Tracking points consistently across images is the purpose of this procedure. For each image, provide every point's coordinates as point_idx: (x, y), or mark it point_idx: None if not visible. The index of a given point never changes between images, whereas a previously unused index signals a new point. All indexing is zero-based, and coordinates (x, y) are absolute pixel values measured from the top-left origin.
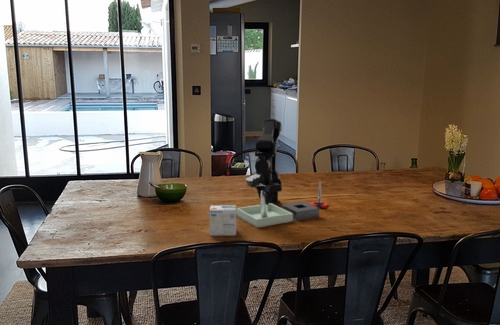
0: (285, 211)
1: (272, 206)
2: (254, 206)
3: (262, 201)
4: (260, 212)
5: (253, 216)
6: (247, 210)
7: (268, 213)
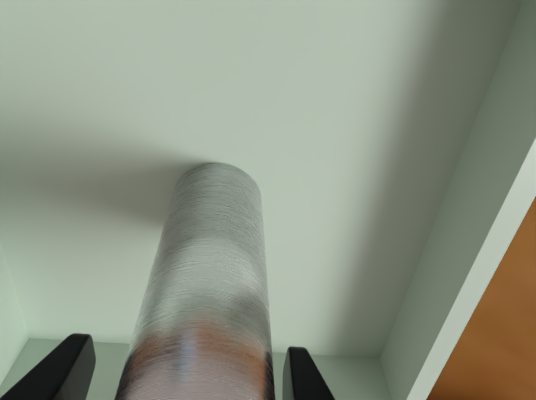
0: (93, 398)
1: (347, 397)
2: (468, 264)
3: (153, 353)
4: (240, 202)
5: (318, 115)
6: (493, 143)
7: (300, 298)
